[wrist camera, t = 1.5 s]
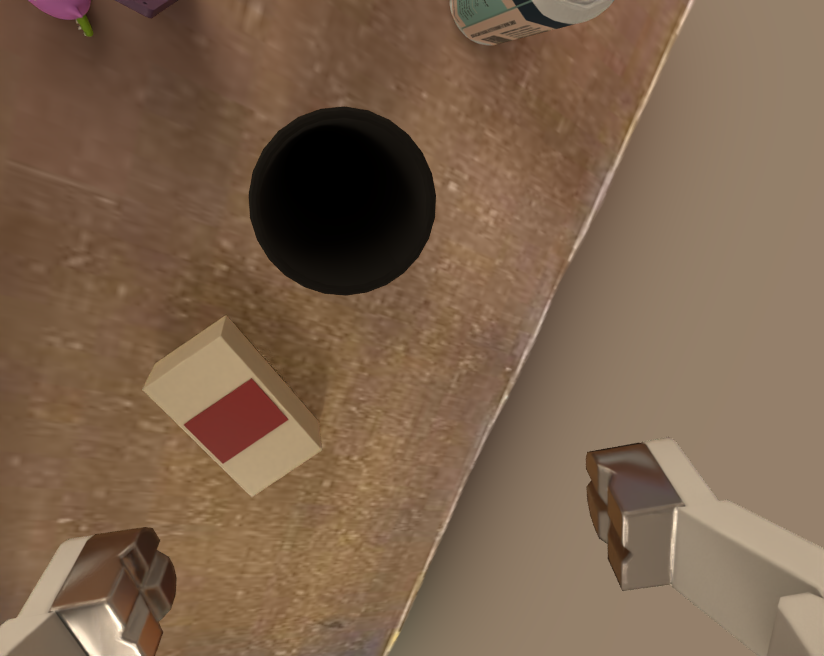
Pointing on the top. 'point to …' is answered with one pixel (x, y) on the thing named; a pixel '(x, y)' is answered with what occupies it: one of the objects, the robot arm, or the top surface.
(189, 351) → the packet
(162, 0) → the purple toy figure frame
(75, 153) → the top surface
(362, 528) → the top surface
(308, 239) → the cup
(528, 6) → the beer can
